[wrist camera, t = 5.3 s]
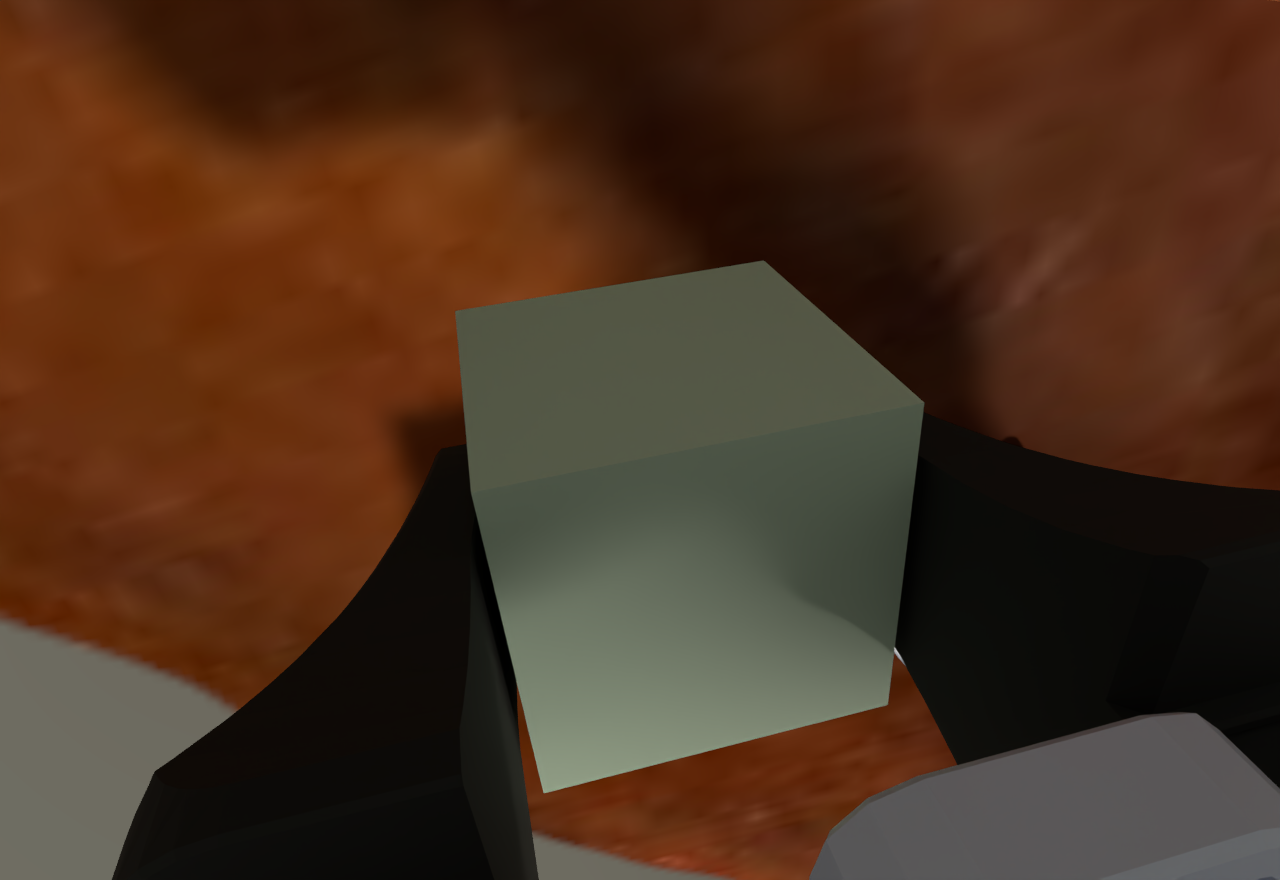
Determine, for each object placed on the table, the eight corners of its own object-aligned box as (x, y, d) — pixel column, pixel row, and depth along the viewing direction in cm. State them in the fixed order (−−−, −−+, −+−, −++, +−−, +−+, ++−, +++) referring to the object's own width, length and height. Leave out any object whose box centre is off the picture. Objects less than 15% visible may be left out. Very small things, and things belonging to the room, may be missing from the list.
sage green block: (763, 505, 16) (887, 704, 11) (510, 559, 15) (543, 793, 11) (763, 260, 13) (924, 402, 9) (455, 311, 12) (471, 493, 8)
